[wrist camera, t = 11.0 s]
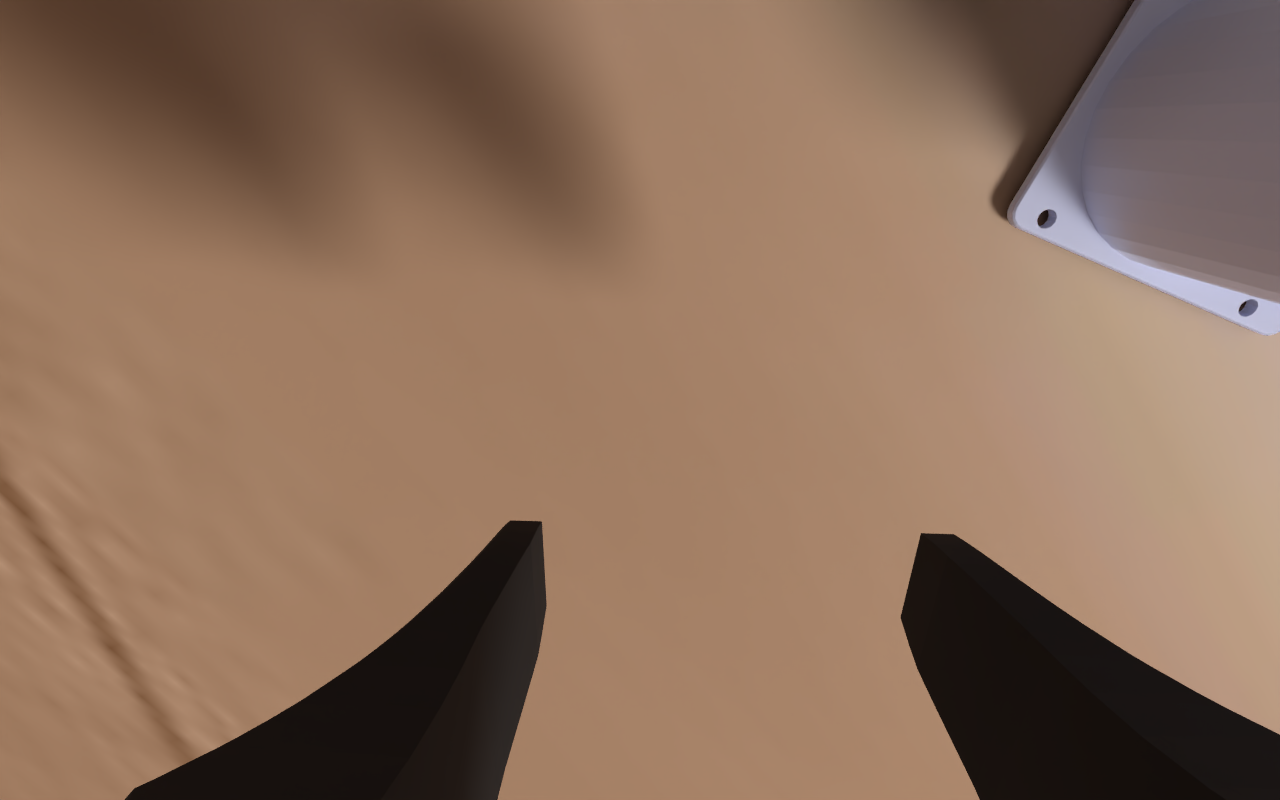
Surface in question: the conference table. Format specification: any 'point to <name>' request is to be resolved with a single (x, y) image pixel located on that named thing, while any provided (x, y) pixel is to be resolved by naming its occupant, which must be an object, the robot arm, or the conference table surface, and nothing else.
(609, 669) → the conference table surface
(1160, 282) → the robot arm
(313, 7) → the conference table surface
